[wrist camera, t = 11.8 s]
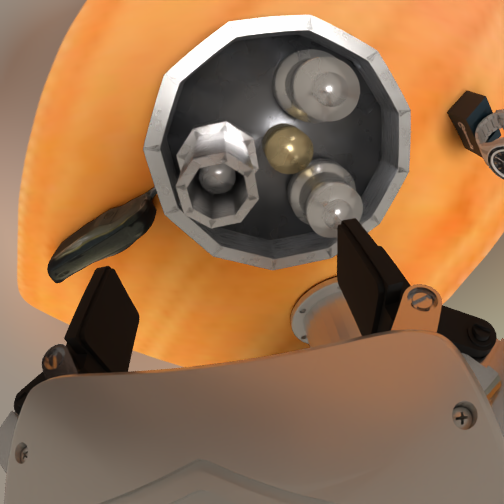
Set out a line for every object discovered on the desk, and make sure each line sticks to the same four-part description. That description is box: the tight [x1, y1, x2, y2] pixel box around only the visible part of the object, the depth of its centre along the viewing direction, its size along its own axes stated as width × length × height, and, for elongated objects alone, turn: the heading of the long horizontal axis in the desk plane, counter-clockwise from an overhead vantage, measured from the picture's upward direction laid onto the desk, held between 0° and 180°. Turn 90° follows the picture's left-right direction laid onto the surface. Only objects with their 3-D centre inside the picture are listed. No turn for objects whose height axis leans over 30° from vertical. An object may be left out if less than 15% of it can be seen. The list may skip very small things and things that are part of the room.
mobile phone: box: [47, 187, 157, 283], centre depth 25 cm, size 5×3×15 cm
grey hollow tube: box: [176, 118, 259, 228], centre depth 20 cm, size 6×6×8 cm
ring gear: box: [143, 15, 411, 270], centre depth 21 cm, size 21×21×3 cm
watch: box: [447, 91, 504, 179], centre depth 18 cm, size 6×8×11 cm
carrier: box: [167, 34, 382, 241], centre depth 21 cm, size 22×22×6 cm
